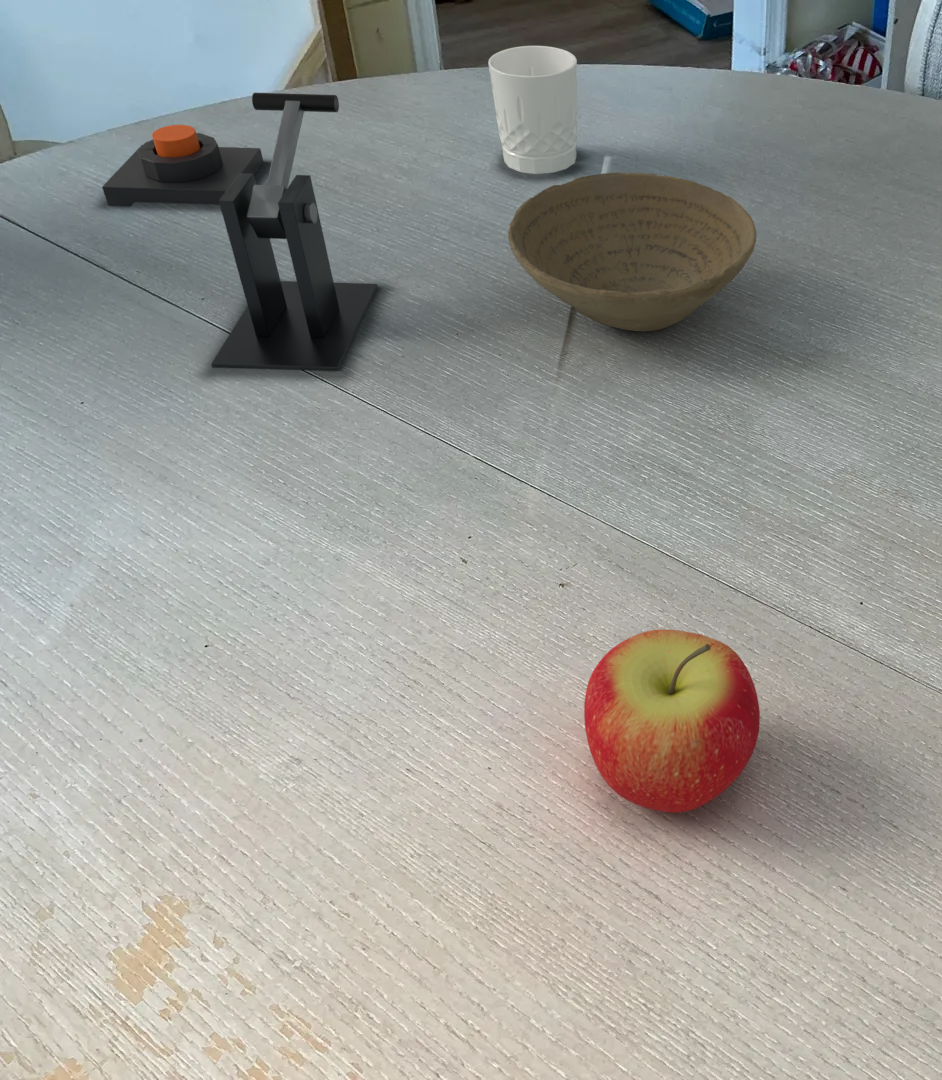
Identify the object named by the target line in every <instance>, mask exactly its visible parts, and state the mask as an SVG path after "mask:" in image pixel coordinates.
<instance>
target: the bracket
mask: <svg viewBox="0 0 942 1080" xmlns="http://www.w3.org/2000/svg"><path fill="white" fill-rule="evenodd" d="M254 185H257V182H256V179H255V174H248V173H240V174H239V175H238V176H237V178H236V179H235V180H234V181H233V183H232V184H231V185H230V187H229V188H228V189H227V191H226V192H225V193H224V195H223V196H222V197H221V199H220V200H219V204H218V205H219V208H220V211H221V214H222V218H223V221H224V225H225V229H226V232H227V236H228V240H229V243H230V246H231V251H232V254H233V259H234V262H235V265H236V269H237V271H238V276H239V279H240V283H241V287H242V291H243V295H244V297H245V302H246V304H247V306H246V307H245V309H244V311H243V313H242V314H241V316H240V317H239V318H238V321H237V322H236V323H235V325H234V326H233V329H232V330H231V332H230V333H229V334H228V336H227V338H226V340H225V341H224V343H223V345H222V346H221V347H220V349H219V351H218V352H217V353H216V355H215V357H214V359H212V362H211V368H213V369H215V368H216V369H219V368H220V369H249V370H251V369H253V370H282V371H283V370H285V371H286V370H287V371H315V372H317V371H318V372H319V371H321V372H339V370H340V368H341V366H342V364H343V363H344V360H345V358H346V356H347V353H348V352H349V349H350V347H351V345H352V343H353V342H354V339H355V337H356V335H357V333H358V330H359V328H360V326H361V323H362V322H363V320H364V317H365V315H366V314H367V312H368V310H369V307H370V305H371V303H372V301H373V298H374V297H375V295H376V292H377V290H378V288H379V285H378V284H377V283H364V282H363V283H362V282H359V283H358V282H334V277H333V274H332V273H333V272H332V268H331V264H330V259H329V254H328V251H327V246H326V245H327V244H326V241H325V237H324V232H323V227H322V222H321V218H320V213H319V209H318V204H317V200H316V196H315V191H314V186H313V182H312V177H311V175H309V174H296V175H295V177H294V178H293V179H292V181H291V182H290V184H288V188H287V190H286V191H285V193H284V194H283V196H282V197H281V199H280V200H279V202H278V205H279V209H280V214H281V218H282V222H283V226H284V230H285V234H286V238H287V239H286V242H287V247H288V250H289V255H290V260H291V263H292V267H293V271H294V276H295V280H296V281H294V280H293V281H292V280H290V281H289V280H281V278H280V274H279V270H278V265H277V262H276V257H275V254H274V250H273V245H272V241H271V238H258V237H257V235H256V233H255V231H254V229H253V228H252V226H251V224H250V222H249V220H248V218H247V212H248V207H249V203H250V199H251V194H252V190H253V186H254Z"/></svg>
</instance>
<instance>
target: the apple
mask: <svg viewBox="0 0 942 1080" xmlns="http://www.w3.org/2000/svg"><path fill="white" fill-rule="evenodd" d="M759 703H760V702H759V698H758V693H757V689H756V686H755V684H754V680H753V678H752V675H751V673H750V671H749V669H748V667H747V666H746V664H745V663H744V661H743V660H742V658H741V657H740V656H739V654H738V653H737V652H736V651H735V650H734V649H733V648H732V647H730V646H729V645H728V644H726V643H724V642H723V641H720V640H718V639H715V638H713V637H709V636H707V635H703V634H700V633H696V632H690V631H685V630H677V629H652V630H647V631H643V632H640V633H637V634H635V635H633V636H631V637H628V638H627V639H625V640H623V641H621V642H620V643H618V644H616V645H615V646H614V647H612V648H611V649H610V650H609V651H608V652H607V653H606V654H605V655H604V656H603V657H602V658H601V659H600V660H599V661H598V663H597V664H596V666H595V668H594V669H593V670H592V673H591V675H590V677H589V680H588V682H587V685H586V689H585V696H584V705H583V706H584V707H583V708H584V709H583V711H584V713H583V716H584V717H583V719H584V728H585V735H586V741H587V744H588V749H589V751H590V754H591V757H592V759H593V762H594V764H595V766H596V768H597V770H598V772H599V774H600V776H601V777H602V779H603V780H604V781H605V783H606V784H607V785H608V787H610V789H611V790H613V792H615V793H616V794H617V795H619V796H620V797H621V798H623V799H625V800H627V801H628V802H630V803H632V804H634V805H636V806H639V807H641V808H644V809H649V810H653V811H657V812H664V813H685V812H689V811H693V810H696V809H698V808H700V807H702V806H704V805H706V804H708V803H709V802H711V801H713V800H714V799H715V798H717V797H718V796H719V795H721V794H722V793H723V792H724V791H726V790H727V789H728V788H729V787H730V786H731V785H732V784H733V783H734V781H736V780H737V778H738V777H739V776H740V775H741V774H742V773H743V771H744V770H745V768H746V767H747V765H748V763H749V762H750V760H751V758H752V756H753V753H754V751H755V749H756V747H757V743H758V738H759V733H760V719H761V714H760V713H761V712H760V705H759Z"/></svg>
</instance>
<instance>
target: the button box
mask: <svg viewBox="0 0 942 1080" xmlns="http://www.w3.org/2000/svg"><path fill="white" fill-rule="evenodd" d="M196 134H197V138H198V141H199V145H200V150H199V151H198V152H195V153H193V154H191V155H187V156H181V157H161V156H158V154H157V151H156V148H155V144H154V141H153V139H151V140H147V141H146V142H144V143H143V144H141V145H140V146H139V147H138V148H137V149H136V150H135V151H134V152H133V153H132V155H130V157H128V159H127V160H126V161H125V162H124V163H123V164H122V165H121V166H120V167H119V168H118V170H116V172H114V173H113V175H112V176H111V177H109V179H108V180H107V181H106V182H105V183H104V184H103V185H102V186H101V188H102V191H103V194H104V197H105V200H106V203H107V206H111V207H113V206H114V207H116V206H117V207H132V206H133V205H134V204H135V203H157V204H160V203H161V204H166V203H167V204H189V205H190V204H193V205H196V204H197V205H220V204H219V200H220V199H221V197H222V196H223V195H224V193H225V192H226V191H227V189H228V188H229V187H230V185H231V184H232V183H233V181H234V180H235V179H236V178H237V176H238V175H239V174H240V173H248V174H254V175H256V173H257V172H258V171H259V170H260V167H262V165H263V164H264V162H265V161H264V158H263V154H262V153H263V152H262V149H261V147H233V146H232V147H231V146H219V144H218V142H217V140H216V139H215V137H213V136H211V135H207V134H204V133H201V132H196Z"/></svg>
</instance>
